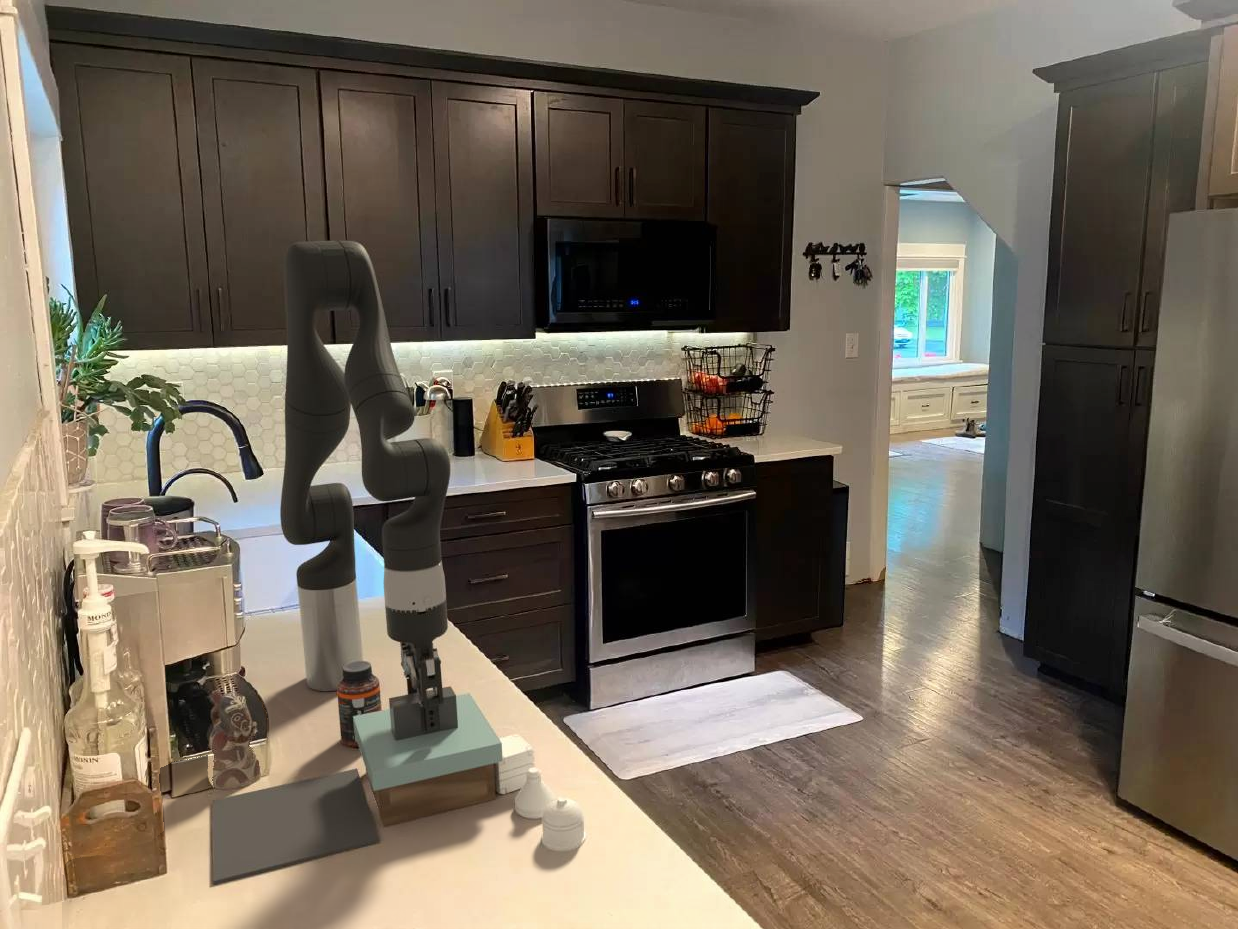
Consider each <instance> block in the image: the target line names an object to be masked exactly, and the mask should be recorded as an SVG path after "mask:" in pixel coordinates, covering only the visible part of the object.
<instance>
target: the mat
mask: <svg viewBox="0 0 1238 929" xmlns="http://www.w3.org/2000/svg"><path fill="white" fill-rule="evenodd" d="M358 770H359V769H358V768H353V769H348V770H343V771H340V772H339V771H338V772H334V773H331V774H330V773H329V774H326V775H325V774H324V775H321V776H316V777H312V778H308V779H304V780H298V781H293V782H288V783H285V784H281V785H276V786H270V787H267V788H262V789H258V790H253V791H249V792H244V793H243V792H242V793H240V794H235V795H230V796H226V797H223V798H222V797H221V798H218V799H213V800H212V883H213V884H212V885H216V884H220V883H223V882H224V883H225V882H228V881H233V880H236V879H239V878H244V877H245V878H246V877H248V876H253V875H256V874H260V873H264V872H268V871H272V870H276V869H280V868H283V867H288V866H291V865H296V864H299V863H303V862H307V861H311V860H312V861H313V860H314V859H315V860H316V859H319V858H323V857H326V856H327V857H328V856H331V855H335V854H340V853H342V852H346V851H350V850H355V849H359V848H362V847H367V846H371V845H374V844H378V843H380V837H379V835H378V832H377V828H376V825H375V822H374V819H373V816H372V812H371V808H370V805H369V802H368V800H367V796H366V792H365V790H364V789H365V788H364V786H363V783H362V780H361V775H360V773H359V771H358Z"/></svg>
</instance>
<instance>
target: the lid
mask: <svg viewBox="0 0 1238 929" xmlns="http://www.w3.org/2000/svg"><path fill="white" fill-rule="evenodd" d="M442 690H443V697H444V701H443V704H442V705H439V716H440V730H439V731H438V732H434V733H429V734H424V733H423V731H422V729H421V715H420V704H419V703H418V700H419V699H418V693H413V694H408V693H407V694H404V695H399V696H394V697H389V698H388V701H389V702H388V704H389V705H388V706H389V708H387V709H383V710H382V709H381V710H382V711H377V712H372V713H367V714H362V715H357V716H353V722H354V733H355V737H356V740H357V743H358V746H359V747H358V748H359V749H358V750H359V751H360V755H361V757H362V761H363V763H364V764H363V765H364V766H365V771H366V770H367V773H368V776H369V779H370V782H371V785H372V788H373V791H377V790H381V789H385V788H390V787H394V786H398V785H402V784H407V783H411V782H415V781H420V780H424V779H428V778H433V777H437V776H441V775H446V774H450V773H454V772H459V771H463V770H467V769H472V768H476V767H480V766H484V765H489V764H493V763H497V762H502V761H503V757H502V743H501V741H500V738H499V736H498V735H497V733H496V731H495V730H494V729H493V727H492V725H491V724H490V722H489V721H488V719H487V718H486V715H485V714H484V713H483V712H482V710H481V708H480V707H479V706H478V704H477V703H476V701H475V700H474V698H473V696H472V695H471V693H470V692H467V693H461V694H458V695H457V694H456V692H455V691H454V689H453V688H452V686H451V685H450V686H445V687H444V686H443V687H442ZM426 694H427V696H428V695H433V694H434V692H433V689H430V690H429V689H427V691H426Z"/></svg>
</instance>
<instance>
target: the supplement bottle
mask: <svg viewBox="0 0 1238 929" xmlns="http://www.w3.org/2000/svg"><path fill="white" fill-rule="evenodd" d="M372 667H373V666H372V663H371V662H370V661H366V660H363V661H354V662H350V663H348V664H346V665H344V666H343V669H342V670H343V677H344V678H343V679H342V680H341V681H340V682H339V683H338V685H337V690H336V694H337V704H338V705H337V706H338V717H339V718H338V720H339V728H340V729H339V732H340V733H339V734H340V740H341V743H342V744H344V745H345V746H347V747H352V748H353V747H354V748H359V746H358V743H357V740H356V737H355V733H354V722H353V716H357V715H362V714H367V713H372V712H377V711H382V699H381V684H380V680H379V678H378V677H377V676H376V675H374V674H373V669H372Z"/></svg>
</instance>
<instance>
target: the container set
mask: <svg viewBox="0 0 1238 929" xmlns="http://www.w3.org/2000/svg"><path fill="white" fill-rule="evenodd" d="M499 739H500V741H501V743H502V757H503V761H502V762H497V763H494V781H495V792H497V793H498V794H499V795H505V794H508V793H511V792H512V793H513V792H514V791H517V790H520V791H519V792H518V794H516V796H515V799H514V803H515V804H514V808H515V812H516V813H517V814H518V815H520V816H521V817H523V818H526V819H531V820H533V819H534V820H535V819H536V820H537V819H541V826H542V834H541V842H542V845H543V846H544V847H545V848H547V849H549V850H551V851H554V852H555V851H556V852H568V851H572V850H576V849H578V848H580V847H581V846H583V844H584V843H585V841H586V839H587V835H586V834H587V833H586V830H585V816H584V813H583V809H582V808H581V806H580V805H579V804H578V803H577V802H576V801H574V800H573V799H570V798H567V797H565V796H560V797H558V798H557V799H556V796H555V794H554V792H553V791H552V789H550V788H549V786H548V785H547V784H546V783H545V782H544V780H542V771H541V770H540V769H539V768H538V767H536V765H535V751H534V749H533V747H532V746H531V745H530V744H529V743H528V742H527V741H526V740H525V739H524V738H523V737H522V736H521V735H520V734H512V735H511V734H510V735H507V736H504V737H501V738H499Z"/></svg>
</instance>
